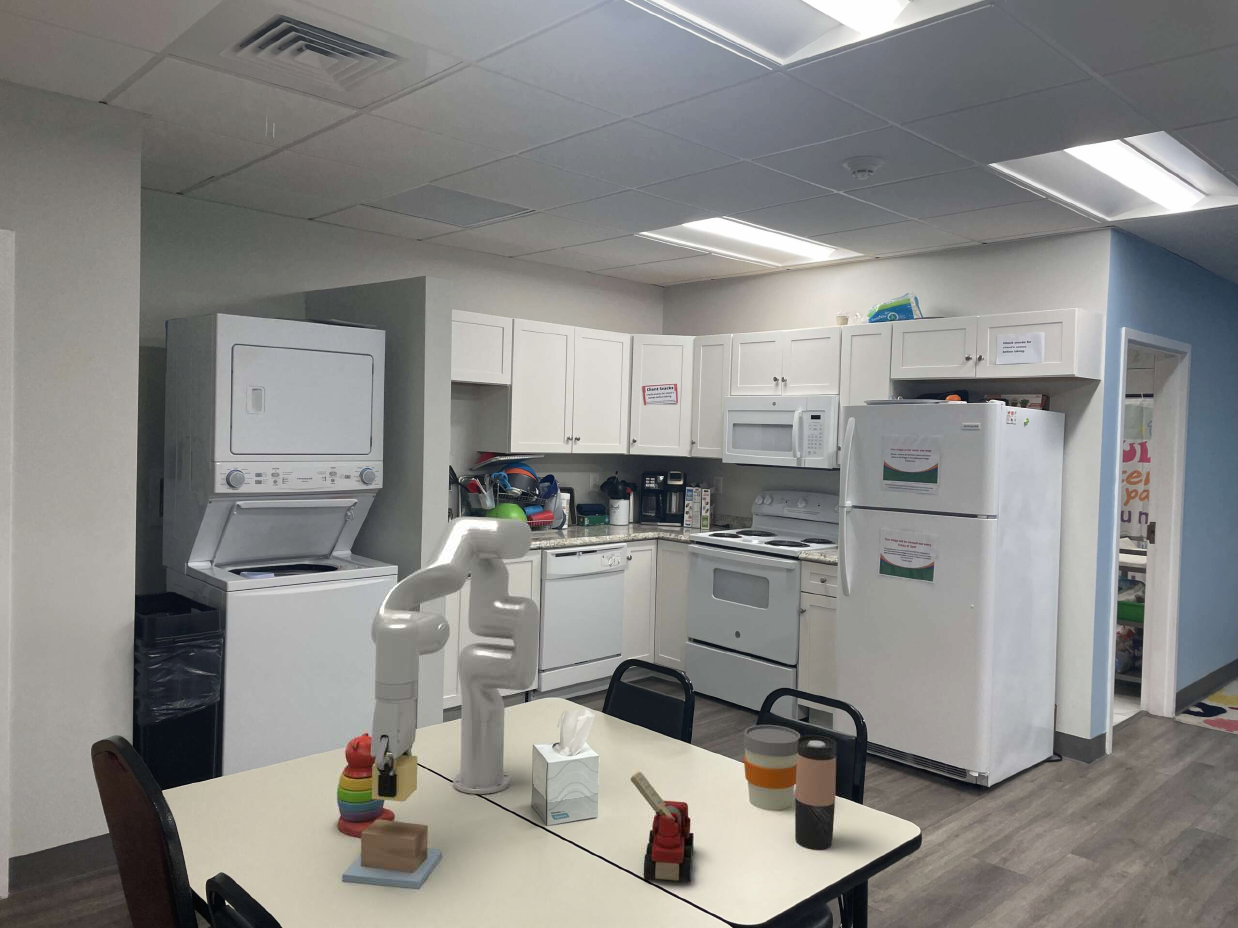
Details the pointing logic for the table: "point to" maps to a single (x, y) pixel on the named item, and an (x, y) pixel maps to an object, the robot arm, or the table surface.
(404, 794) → the cube brick
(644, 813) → the table surface
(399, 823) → the long brick
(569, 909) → the table surface
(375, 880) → the base board
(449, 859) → the table surface
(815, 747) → the travel mug
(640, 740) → the table surface
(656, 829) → the toy fire truck
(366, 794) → the stacking bear
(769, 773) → the reusable coffee cup
